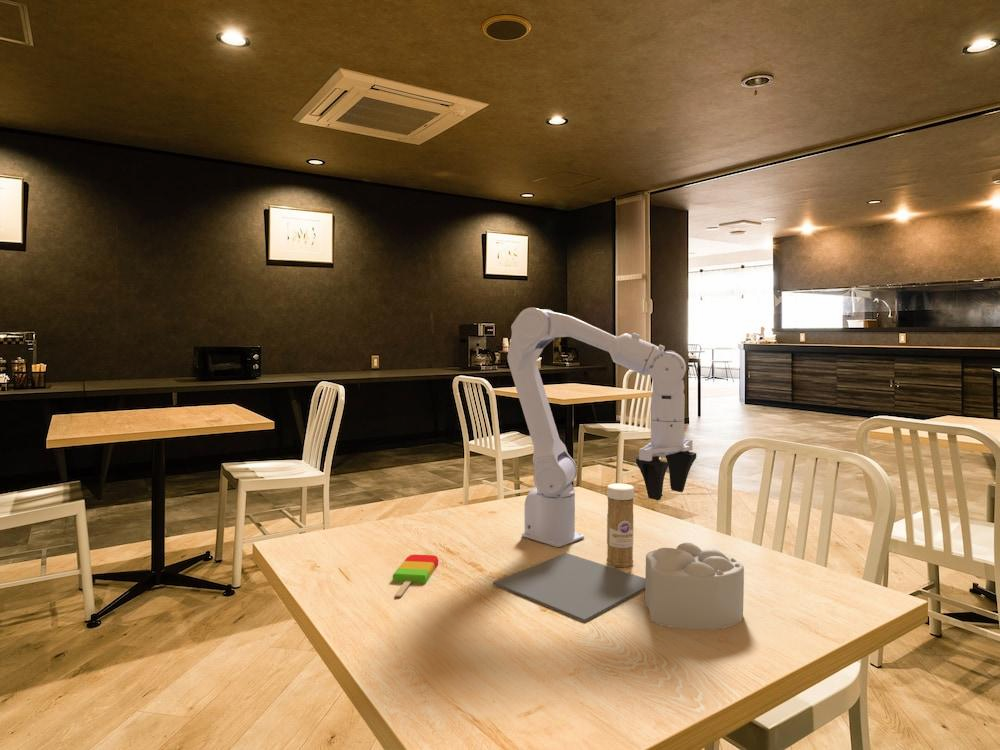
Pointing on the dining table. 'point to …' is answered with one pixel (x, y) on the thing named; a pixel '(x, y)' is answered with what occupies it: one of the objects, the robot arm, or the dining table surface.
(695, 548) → the lumpy-topped squat cylinder
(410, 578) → the popsicle
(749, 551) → the dining table surface
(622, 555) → the sprinkles bottle
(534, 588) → the rubber mat
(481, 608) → the dining table surface
